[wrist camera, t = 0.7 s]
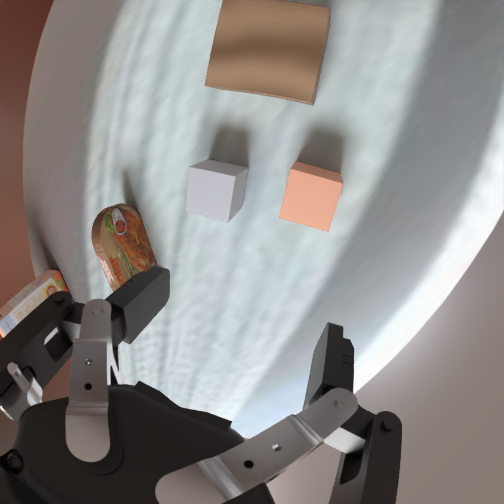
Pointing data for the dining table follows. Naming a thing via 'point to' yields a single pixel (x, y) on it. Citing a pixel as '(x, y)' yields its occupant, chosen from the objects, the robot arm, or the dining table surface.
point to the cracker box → (30, 300)
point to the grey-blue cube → (216, 189)
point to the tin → (121, 244)
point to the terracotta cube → (311, 196)
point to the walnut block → (269, 48)
